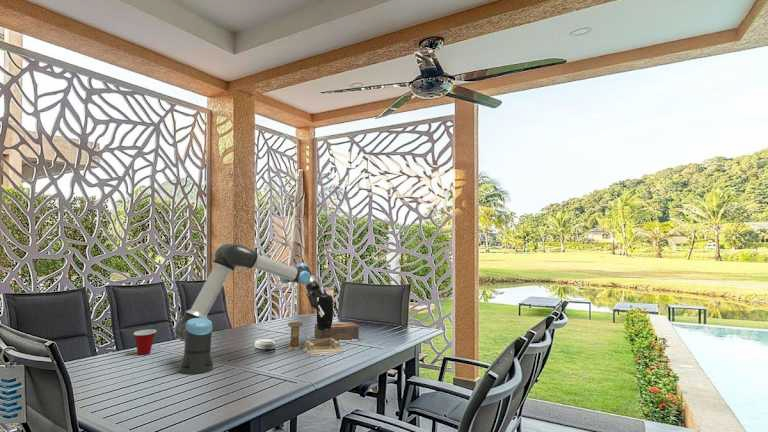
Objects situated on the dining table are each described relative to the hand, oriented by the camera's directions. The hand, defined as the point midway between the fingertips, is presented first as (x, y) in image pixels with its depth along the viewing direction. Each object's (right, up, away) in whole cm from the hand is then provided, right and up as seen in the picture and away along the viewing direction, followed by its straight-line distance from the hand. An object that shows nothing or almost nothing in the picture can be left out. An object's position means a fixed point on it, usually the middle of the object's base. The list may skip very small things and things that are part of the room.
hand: (328, 314), depth 239 cm
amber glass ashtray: (-4, -21, 0) cm, 22 cm away
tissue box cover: (+1, -25, +32) cm, 40 cm away
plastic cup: (-98, -18, -16) cm, 101 cm away
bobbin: (-21, -21, +7) cm, 31 cm away
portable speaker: (-3, -9, +1) cm, 9 cm away
